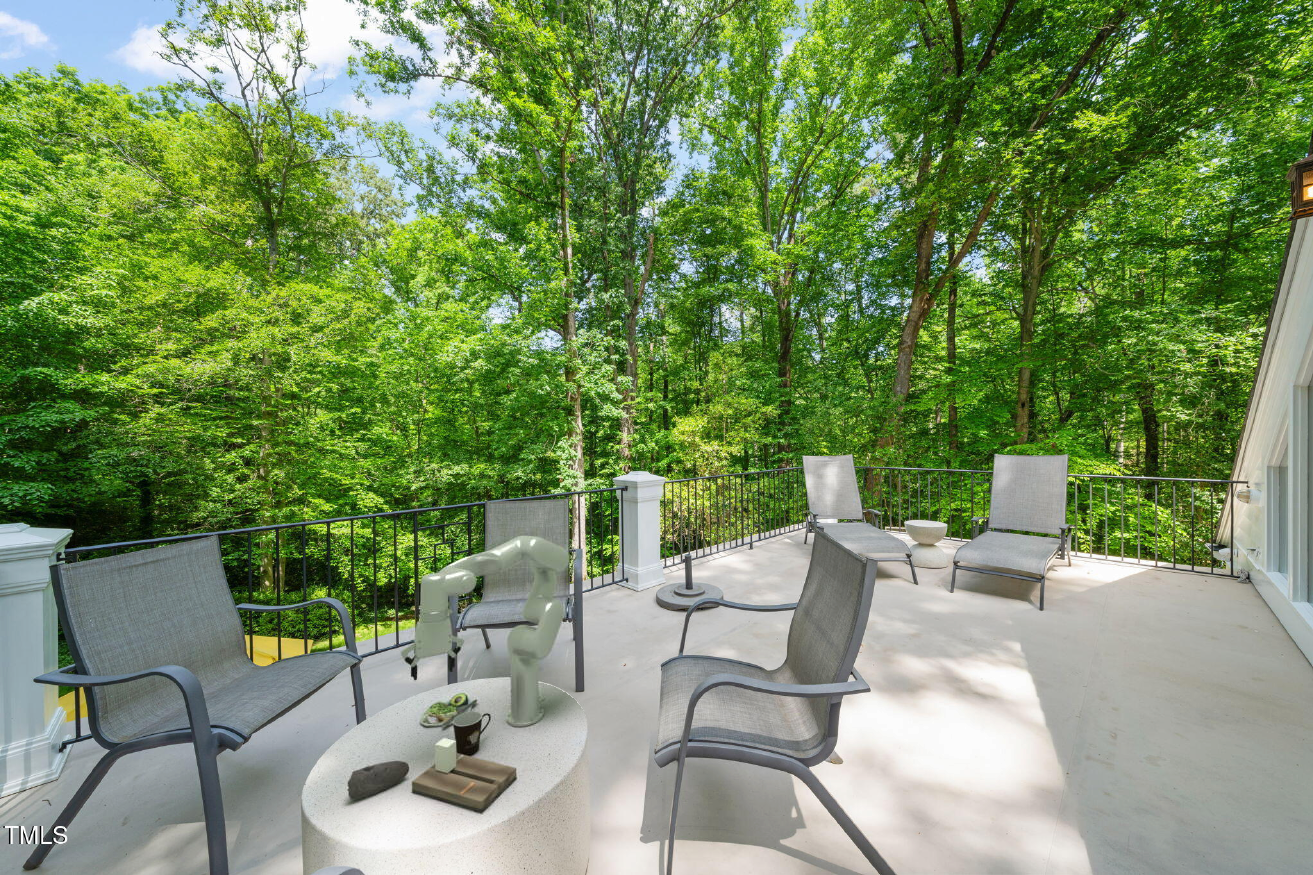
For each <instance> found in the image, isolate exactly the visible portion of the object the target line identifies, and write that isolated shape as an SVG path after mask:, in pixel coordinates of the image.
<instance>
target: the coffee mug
mask: <svg viewBox="0 0 1313 875" xmlns="http://www.w3.org/2000/svg"><path fill="white" fill-rule="evenodd" d="M486 716H488V720H487V722H486V725H485V726H484V727H483V728H482V725H483V724H482V723H483V718H484V717H486ZM491 716H492V715H491V714H490V713H489V712H486V713H484V714H482V712H480V711H475V710H470V712H466V713H463V714H460V715H458V716H457V717H456V718H454V720H453V724H452V725H453V733H454V741H456V753H458V754H462V755H466V756H470V757H474V755H475V754H477V753H478V752H479V751H480V743H481V742H480V741H481V735H482V734H483V733H484V732H485V730H486V729H487V727H488V726H489V724H490V722H491V719H492V717H491Z"/></svg>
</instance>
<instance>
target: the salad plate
mask: <svg viewBox="0 0 1313 875" xmlns="http://www.w3.org/2000/svg"><path fill="white" fill-rule="evenodd" d="M477 702H478V699H474V700H472V699H470V698H469V697H468V695H467V694H466V693H465V692H460V693H457V694H456V693H455V694H454V695H453V696H452V698H451V699H448V700H442V701H441V700H440V701H437V702H434V703H431V704H429V705H428V706H427V707H426V708H425V710H424V712H423V714H422V715H421V717H420V720H419V722H420V724H421V725H422V726H425V727H427V728H439V727H440V728H446V727H448V726H451V725H453V720H454V718H456V717H457V716H458V715H460V714H463V713H466V712H471V711H472V708H473V707H474V705H475V704H476V703H477ZM430 717H433V718H437V719H438V721H437V722H430V720H429V718H430Z"/></svg>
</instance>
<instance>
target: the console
mask: <svg viewBox="0 0 1313 875" xmlns="http://www.w3.org/2000/svg"><path fill="white" fill-rule="evenodd" d="M516 780H517V767H515V766H514V767H513V766H509V765H507V764H501V763H498V762H493V761H490V760H486V759H482V758H478V757H474V756H466V755H462V754H458V753H457V752H456V767H455V768H453V769H452V770H451V771H450V773H445V772H441V771H438V770H435V763H434V764H433V765H431V766H430V767H429V768H428V769H426V770H425V771H424V772H423V773H421V774H420V775H418V776H417V777H416V778H415V779H413V780H412V781H411V793H412V794H415V795H418V796H422V797H425V798H428V799H430V800H431V799H432V800H434V801H438V802H442V803H445V804H448V805H452V806H456V807H458V808H461V809H464V810H467V811H472V812H474V813H478V814H483V813H484V812H485V811H487V809H488V808H489V807H490V806H492V804H493V803H494V802H495V801H496V800H497V799H498V798H499V797H500V796H501V795H502V794H503V793H504V792H505V791H506V790H507V789H508V788H509V787H510V786H511V785H512V784H513V783H514V782H515V781H516Z"/></svg>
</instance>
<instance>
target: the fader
mask: <svg viewBox="0 0 1313 875" xmlns="http://www.w3.org/2000/svg"><path fill="white" fill-rule="evenodd" d="M434 751H435V752H434V756H435V757H434V762H435V763H434V764H435V770H438V771H441V772H445V773H450V771H451V770H452V769H453V768H455V767H456V753H457V750H456V741H455V739H454V740H453V739H451V738H450V739H449V738H445V737H443V738H442V739H441V740H439V741H438V742H436V743H435V744H434Z"/></svg>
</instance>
